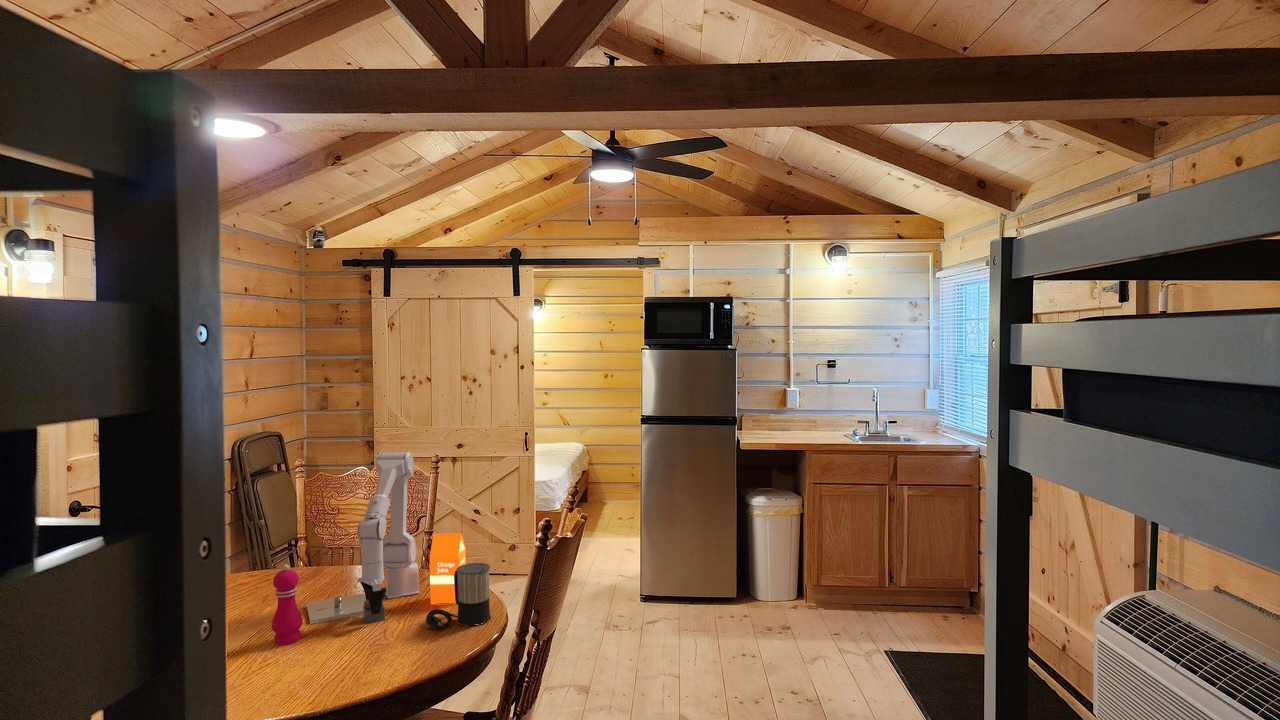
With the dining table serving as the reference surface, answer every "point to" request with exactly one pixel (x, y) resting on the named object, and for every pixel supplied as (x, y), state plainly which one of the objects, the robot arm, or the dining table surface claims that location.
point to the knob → (368, 615)
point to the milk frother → (467, 597)
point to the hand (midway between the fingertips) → (373, 609)
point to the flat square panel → (335, 608)
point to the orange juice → (445, 566)
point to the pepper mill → (286, 608)
